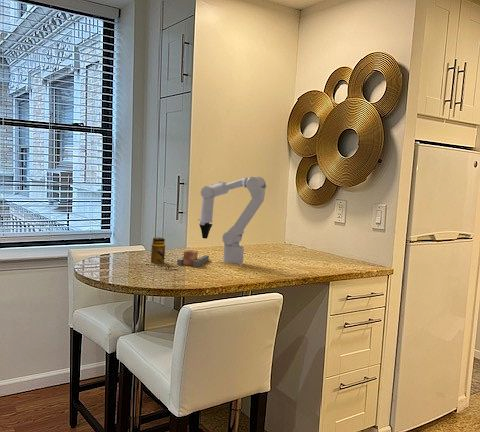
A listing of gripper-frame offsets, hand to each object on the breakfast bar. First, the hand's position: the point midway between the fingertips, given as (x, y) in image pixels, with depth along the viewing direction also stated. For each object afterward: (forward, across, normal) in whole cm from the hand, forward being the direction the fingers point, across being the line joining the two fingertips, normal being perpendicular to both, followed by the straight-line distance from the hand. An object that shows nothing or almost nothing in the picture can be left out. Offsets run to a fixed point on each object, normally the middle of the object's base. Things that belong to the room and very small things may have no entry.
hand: (204, 238), depth 238 cm
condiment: (+11, +24, -15) cm, 31 cm away
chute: (+10, +15, 0) cm, 18 cm away
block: (+10, +20, 0) cm, 22 cm away
